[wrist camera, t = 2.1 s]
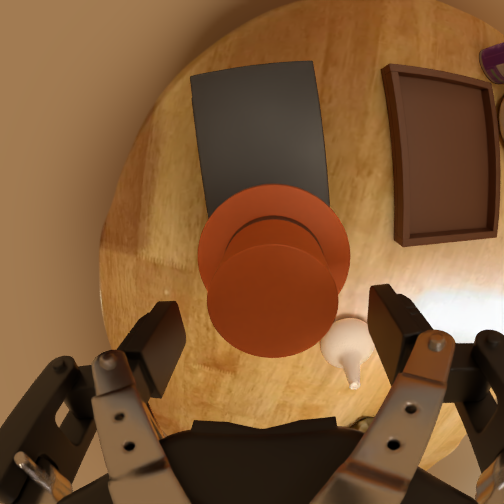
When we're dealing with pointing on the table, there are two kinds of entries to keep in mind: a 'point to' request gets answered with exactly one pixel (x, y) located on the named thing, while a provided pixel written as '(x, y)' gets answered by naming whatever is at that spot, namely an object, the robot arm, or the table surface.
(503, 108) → the mug
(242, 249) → the hat
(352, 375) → the garlic bulb
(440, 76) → the tray
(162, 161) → the table surface
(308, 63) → the grooved dark grey box
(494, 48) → the container
